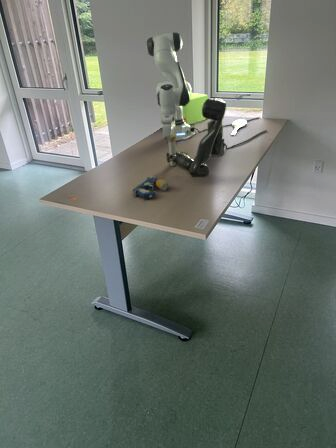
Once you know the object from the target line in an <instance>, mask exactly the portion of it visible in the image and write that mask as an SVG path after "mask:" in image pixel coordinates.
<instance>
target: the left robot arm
mask: <svg viewBox="0 0 336 448" xmlns="http://www.w3.org/2000/svg"><path fill="white" fill-rule="evenodd" d="M182 46H183V38H182V36H181V34H180V33H179V32H167V33H162V34H158V35H156V36H151V37H148V39H147V40H146V43H145V47H146V52H147V53H148V55H149V56H151V57H153V59H154V65H155V67H156V68H157V69H158V70H159V71H160V72H161V75H162V76H163V77H164V78H165V79H166V80H168V81H162V82H158V84H157V85H156V87H155V93H156V98H157V105H158V106H159V107H160V124H161V125H162V127H161V128H162V133H163V137H164V138H166V140H167V143H168V144H169V143H171V135H175V137H176V140H175V142H177V141H186V140H188V139H190V138H191V137H193V136H195V135H196V133H195V130H196V131H197V132H198V133H202V132H205V131H208V128H205V129H203V130H199V129H198V128H195V127H194V126H193V125H188V124H186V123H185V121H184V120H187V118H185V117H184V118H183V112H182V106H186V105H187V104H188V103H189V102H190V94H191V92H192V87H191V84H190V83H189V82H188V81H186V78H185V76H184V72H183V69H182V67H181V64H180V62H179V61H178V59H177V53H178V52H180V51H181V49H182V48H183V47H182ZM260 118H261V116H257V117H254V118H250V119H248V120H245V121H246V122H250V121H253V120H257V119H260ZM232 124H233V123H230V124H225V125H223V128H224V127H229V126H233V125H232Z"/></svg>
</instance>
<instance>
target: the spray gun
mask: <svg viewBox="0 0 336 448" xmlns="http://www.w3.org/2000/svg"><path fill="white" fill-rule="evenodd" d="M155 186H156V187H157V188H158V189H159V190H161V191H166V190H167V189H168V188H169V187H168V186H169V185H168V184H167V182H166V181H164V180H163V179H158V177H157V176H156V175H155V176H146V178H145V179H144V180H143V181H141V182H140V183H139V184H138V185H137V186H136V187H134V188H133V189H132V193H131V194H132V195H133V196H134V197H137V196H138V197H140V198H142V199H144V200H148V199H152V198H154V197H155V196H156V194H157V191H155Z"/></svg>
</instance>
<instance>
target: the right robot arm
mask: <svg viewBox="0 0 336 448" xmlns="http://www.w3.org/2000/svg"><path fill="white" fill-rule="evenodd" d="M226 111H227V103H226V102H225V101H224V100H223V99H222V98H208V99H206V100H205V102H204V104H203V107H202V116H203V117H204V118H206V119H205V120H209V121H208V122H207V129H208V130H207V133H206V134H205V135H204V136H203V137H202V138H201V140H200V141H199V143H198V145H197V150H196V154H195V156H194V158H191V156H189V153H188V152H185V151H180V152H179V151H176V155H174V154H172V155H171V154H169V152H166V154H165V155H166V162H167V163H169V164H170V161H173V162H175V163H176V165H175V166H178V167H179V168H181V169H182V170H185V171H187V173H189V175H190V177H192V178H196V179H197V178H206V177H208V176H209V174H210V168H209V166H208V165H207V164H206V163H207V162H209V160H210V158H211V157H219V156H222V155H223V154H225V150H229V149H233V148H234V147H237V146H239V145H242V144H245V143H247V142H249V141H251V140H252V139H254V138H256V137H258V136H259V135H261V134H263V133H266V132H267V130H266V129H265V130H263V131H260V132H259V133H256V134H255V135H254V136H251V137H250V138H248V139H246V140H244V141H241V142H239V143H235V144H233V145H232V146H230V147H228V145H227V144H226V143H225V138H224V127H223V126H224V117H225V114H226Z"/></svg>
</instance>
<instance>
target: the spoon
mask: <svg viewBox="0 0 336 448" xmlns="http://www.w3.org/2000/svg"><path fill="white" fill-rule="evenodd" d="M246 121H247V120H245V119H237V120H234V121H233V122H232V123H231V124H232V125H231V126H232V127H234V129H233V131H232V132H231V136H236V135H237V131H238V129H239V128H242V127H244V126H246V125H247V122H248V121H247V122H246Z"/></svg>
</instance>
